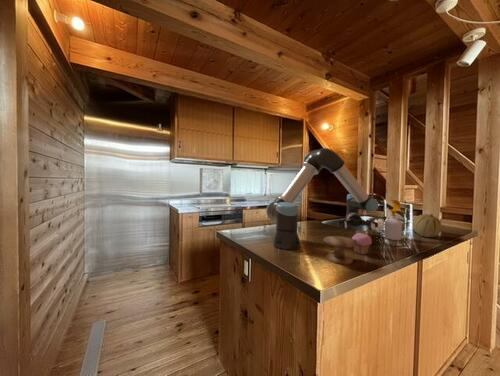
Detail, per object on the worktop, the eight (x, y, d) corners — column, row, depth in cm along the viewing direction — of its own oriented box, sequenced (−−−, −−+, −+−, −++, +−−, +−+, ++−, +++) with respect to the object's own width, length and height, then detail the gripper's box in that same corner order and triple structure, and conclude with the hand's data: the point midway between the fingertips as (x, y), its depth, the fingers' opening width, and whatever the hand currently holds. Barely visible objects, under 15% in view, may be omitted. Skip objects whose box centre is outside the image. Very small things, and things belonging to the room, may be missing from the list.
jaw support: (395, 229, 148) (383, 219, 149) (385, 237, 150) (374, 227, 151) (387, 225, 160) (377, 216, 161) (378, 234, 161) (368, 224, 163)
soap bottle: (380, 237, 139) (381, 199, 138) (391, 236, 142) (392, 198, 141) (394, 240, 130) (395, 200, 130) (405, 239, 133) (406, 199, 132)
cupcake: (358, 249, 113) (358, 230, 113) (375, 254, 106) (375, 233, 106) (348, 252, 109) (348, 232, 108) (365, 257, 101) (365, 236, 101)
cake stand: (330, 265, 91) (330, 244, 91) (318, 254, 105) (319, 236, 105) (362, 265, 91) (363, 244, 91) (347, 254, 105) (347, 236, 105)
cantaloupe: (418, 233, 150) (418, 211, 150) (445, 237, 138) (446, 214, 137) (408, 235, 143) (408, 213, 142) (435, 241, 130) (436, 216, 130)
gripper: (377, 226, 132) (386, 235, 112) (333, 224, 141) (335, 232, 121) (377, 214, 132) (386, 221, 112) (333, 213, 140) (335, 218, 120)
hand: (359, 226), depth 116 cm, fingers open, 13 cm apart
